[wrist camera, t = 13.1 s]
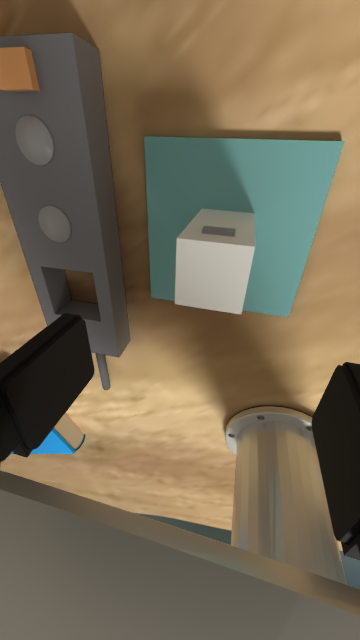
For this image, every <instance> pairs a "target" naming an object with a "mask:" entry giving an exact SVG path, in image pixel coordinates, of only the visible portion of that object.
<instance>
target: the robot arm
mask: <svg viewBox="0 0 360 640" xmlns="http://www.w3.org/2000/svg"><path fill="white" fill-rule="evenodd" d="M93 375H94V365H93V359H92V354H91V349H90V344H89V338H88V333H87V328H86V323H85V321H84V320H83V319H82V317H81V316H80V315H76V314H70V313H64V314H63V315H61V316H60V317H59V318H57V319H56V320H55V321H54V322H52V323H51V324H50V325H48V326H47V327H46V328H45V329H43V330H42V331H41V332H40V333H38V334H37V335H36V336H34V337H33V338H32V339H31V340H29V341H28V342H27V343H25V344H24V345H23V346H22V347H20V348H19V349H18V350H16V351H15V352H14V353H13V354H11V355H10V356H9V357H7V358H6V359H5V360H4V361H2V362H1V363H0V640H360V590H359V589H356V588H354V587H351V586H348V585H346V581H345V576H344V571H343V566H342V562H341V557H340V552H339V547H338V543H337V540H338V541H341V544H342V548H343V552H344V556H348V557H351V558H354V559H357V560H360V364H355V363H349V362H345V363H344V364H343V365H342V366H341V365H338V366H337V367H336V369H335V371H334V373H333V375H332V377H331V379H330V382H329V384H328V386H327V388H326V390H325V392H324V394H323V396H322V398H321V400H320V402H319V405H318V407H317V409H316V411H315V413H314V415H313V417H311V416H308V415H306V414H304V413H302V412H299V411H296V410H293V409H289V408H284V407H274V406H265V407H256V408H251V409H248V410H245V411H242V412H240V413H238V414H236V415H235V416H234V417H233V418H232V419H231V420H230V421H229V422H228V424H227V427H226V433H225V440H226V444H227V446H228V448H229V449H230V450H231V451H232V453H233V454H234V455H236V469H235V486H234V503H233V520H232V537H231V545H228V544H225V543H222V542H219V541H216V540H213V539H210V538H207V537H204V536H201V535H198V534H195V533H192V532H189V531H186V530H183V529H180V528H177V527H174V526H171V525H168V524H165V523H162V522H158V521H156V520H152V519H150V518H146V517H143V516H140V515H137V514H134V513H131V512H128V511H125V510H122V509H119V508H116V507H113V506H110V505H107V504H104V503H101V502H97V501H94V500H91V499H88V498H85V497H82V496H79V495H76V494H73V493H70V492H67V491H63V490H60V489H57V488H54V487H51V486H48V485H45V484H42V483H39V482H35V481H32V480H29V479H26V478H23V477H20V476H17V475H14V474H10V473H7V472H6V468H7V457H8V456H9V455H10V453H11V452H12V451H13V453H14V454H17V455H20V456H23V457H28V456H29V454H30V453H31V452H32V451H33V449H37V448H38V447H39V446H40V445H41V444H42V442H43V441H44V440H45V439H46V437H47V436H48V435H49V433H50V432H51V431H52V429H53V428H54V427H55V425H56V424H57V423H58V422H59V420H60V419H61V418H62V416H63V415H64V414H65V412H66V411H67V410H68V409H69V407H70V406H71V405H72V403H73V402H74V401H75V399H76V398H77V397H78V395H79V394H80V393H81V392H82V390H83V389H84V388H85V386H86V385H87V384H88V382H89V381H90V380H91V379H92V377H93Z"/></svg>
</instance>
